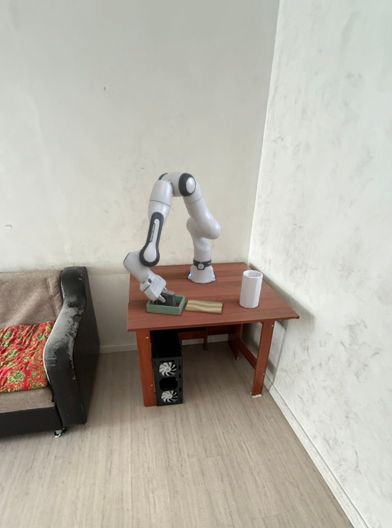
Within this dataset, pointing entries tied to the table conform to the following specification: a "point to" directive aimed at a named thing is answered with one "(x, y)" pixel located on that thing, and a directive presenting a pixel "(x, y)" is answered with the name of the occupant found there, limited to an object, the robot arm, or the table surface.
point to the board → (204, 306)
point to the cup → (250, 288)
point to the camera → (167, 298)
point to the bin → (166, 307)
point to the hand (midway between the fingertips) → (166, 298)
